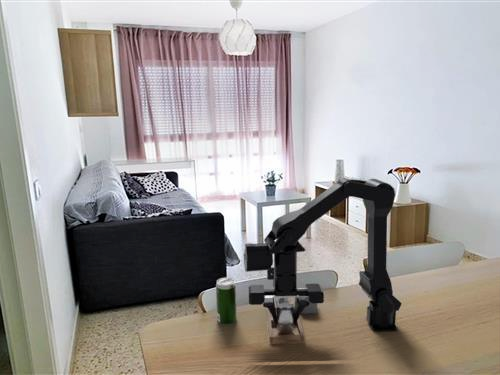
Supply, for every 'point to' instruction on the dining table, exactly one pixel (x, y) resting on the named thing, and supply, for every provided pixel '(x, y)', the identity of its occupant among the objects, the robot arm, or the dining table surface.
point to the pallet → (283, 338)
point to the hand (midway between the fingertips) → (285, 324)
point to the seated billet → (280, 301)
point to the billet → (285, 318)
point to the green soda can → (226, 301)
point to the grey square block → (310, 308)
